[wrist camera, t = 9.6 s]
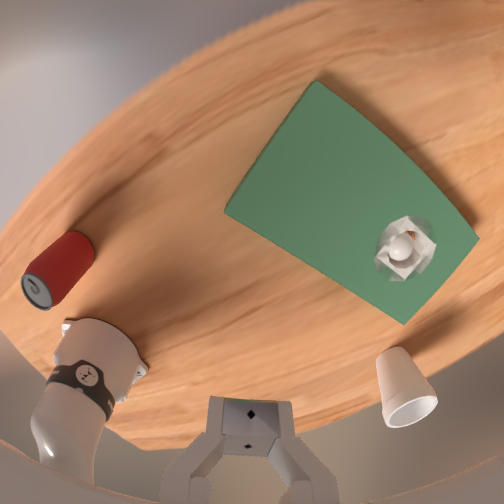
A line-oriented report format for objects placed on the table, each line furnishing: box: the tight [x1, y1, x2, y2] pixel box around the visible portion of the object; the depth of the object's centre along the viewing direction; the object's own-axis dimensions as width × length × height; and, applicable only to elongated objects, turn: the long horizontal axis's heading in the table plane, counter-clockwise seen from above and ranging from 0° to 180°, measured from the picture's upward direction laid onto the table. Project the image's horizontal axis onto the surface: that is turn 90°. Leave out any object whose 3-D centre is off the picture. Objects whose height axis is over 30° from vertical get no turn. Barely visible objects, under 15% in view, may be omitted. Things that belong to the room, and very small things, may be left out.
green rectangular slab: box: [224, 80, 480, 325], centre depth 35 cm, size 18×32×3 cm, turn 57°
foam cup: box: [376, 347, 438, 428], centre depth 43 cm, size 10×9×13 cm
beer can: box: [21, 231, 94, 311], centre depth 34 cm, size 7×7×12 cm
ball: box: [388, 232, 413, 261], centre depth 36 cm, size 4×4×4 cm
